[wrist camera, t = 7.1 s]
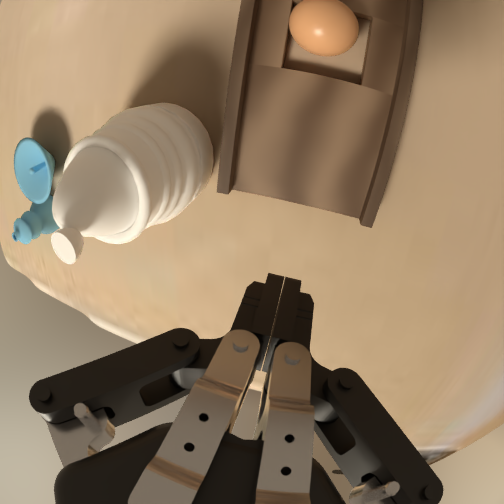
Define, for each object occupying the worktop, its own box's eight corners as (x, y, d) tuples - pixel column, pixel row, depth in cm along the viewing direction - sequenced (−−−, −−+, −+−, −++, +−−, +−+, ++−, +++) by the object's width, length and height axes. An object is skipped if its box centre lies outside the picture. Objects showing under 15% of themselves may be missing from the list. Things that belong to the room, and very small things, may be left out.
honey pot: (237, 165, 30) (152, 255, 15) (163, 224, 36) (77, 319, 21) (164, 79, 26) (29, 97, 11) (103, 152, 32) (-7, 212, 17)
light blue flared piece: (34, 124, 31) (-9, 141, 24) (74, 138, 31) (26, 158, 24) (34, 216, 41) (1, 240, 34) (70, 238, 42) (36, 268, 34)
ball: (362, 60, 17) (351, 62, 22) (365, -5, 13) (354, 10, 18) (285, 49, 17) (289, 54, 22) (288, -16, 14) (291, 1, 19)
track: (415, -19, 14) (424, -28, 11) (367, 215, 29) (371, 227, 27) (259, -51, 15) (253, -63, 13) (225, 182, 31) (216, 192, 28)
